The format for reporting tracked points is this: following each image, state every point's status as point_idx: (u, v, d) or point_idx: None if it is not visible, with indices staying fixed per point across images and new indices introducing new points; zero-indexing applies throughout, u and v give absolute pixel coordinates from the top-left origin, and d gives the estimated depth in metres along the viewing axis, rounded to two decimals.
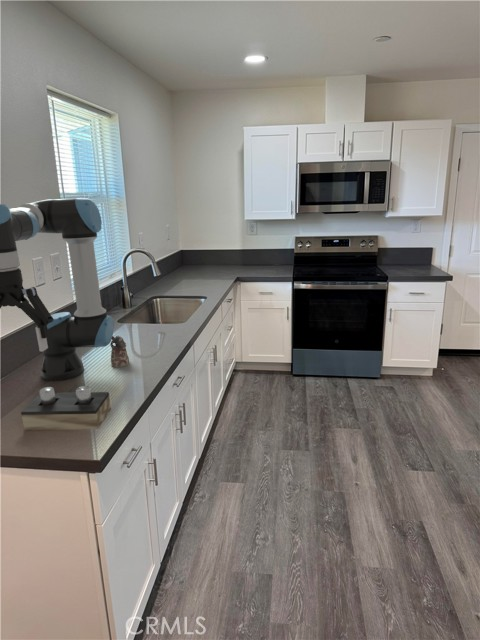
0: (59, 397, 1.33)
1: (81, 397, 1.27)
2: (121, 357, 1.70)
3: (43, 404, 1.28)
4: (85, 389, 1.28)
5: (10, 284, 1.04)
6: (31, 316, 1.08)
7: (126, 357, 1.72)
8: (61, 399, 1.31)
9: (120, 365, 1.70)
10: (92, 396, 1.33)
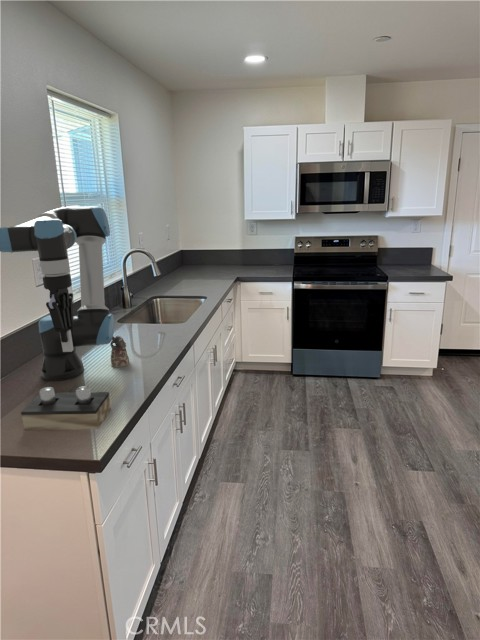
0: (59, 397, 1.33)
1: (81, 397, 1.27)
2: (121, 357, 1.70)
3: (43, 404, 1.28)
4: (85, 389, 1.28)
5: (45, 287, 1.22)
6: None
7: (126, 357, 1.72)
8: (61, 399, 1.31)
9: (120, 365, 1.70)
10: (92, 396, 1.33)
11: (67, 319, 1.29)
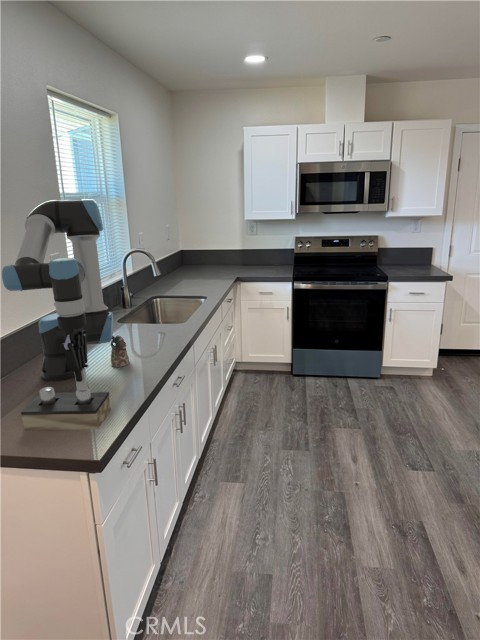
0: (59, 397, 1.33)
1: (81, 398, 1.27)
2: (121, 356, 1.70)
3: (43, 404, 1.28)
4: (85, 390, 1.28)
5: (60, 328, 1.20)
6: None
7: (126, 357, 1.72)
8: (61, 399, 1.31)
9: (120, 365, 1.70)
10: (92, 396, 1.33)
11: (81, 358, 1.26)
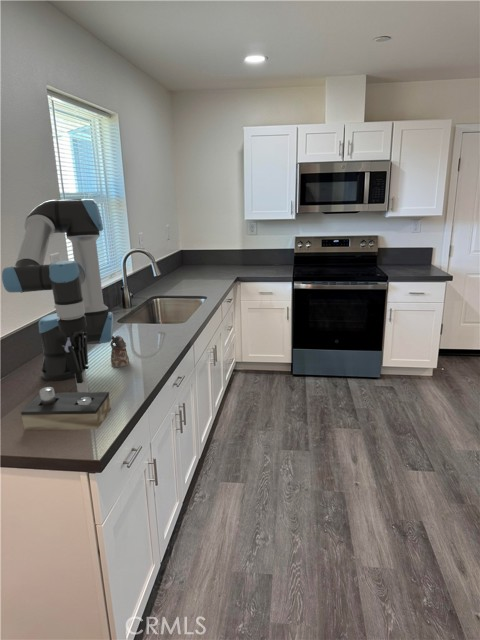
0: (59, 397, 1.33)
1: None
2: (121, 357, 1.70)
3: (43, 404, 1.28)
4: (87, 400, 1.29)
5: (60, 330, 1.20)
6: None
7: (126, 357, 1.72)
8: (61, 399, 1.31)
9: (120, 365, 1.70)
10: (92, 396, 1.33)
11: (82, 359, 1.27)
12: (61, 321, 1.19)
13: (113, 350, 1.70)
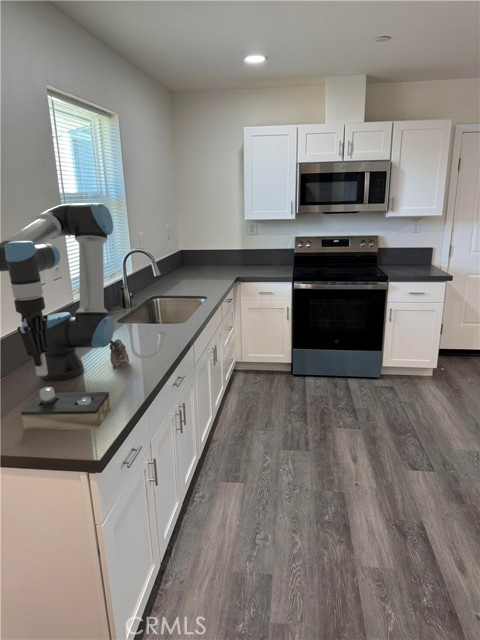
0: (59, 397, 1.33)
1: None
2: (121, 360, 1.68)
3: (43, 404, 1.28)
4: (87, 400, 1.29)
5: (17, 311, 1.19)
6: None
7: (126, 357, 1.71)
8: (61, 399, 1.31)
9: (121, 366, 1.70)
10: (92, 396, 1.33)
11: (41, 342, 1.25)
12: (17, 301, 1.18)
13: (113, 354, 1.67)
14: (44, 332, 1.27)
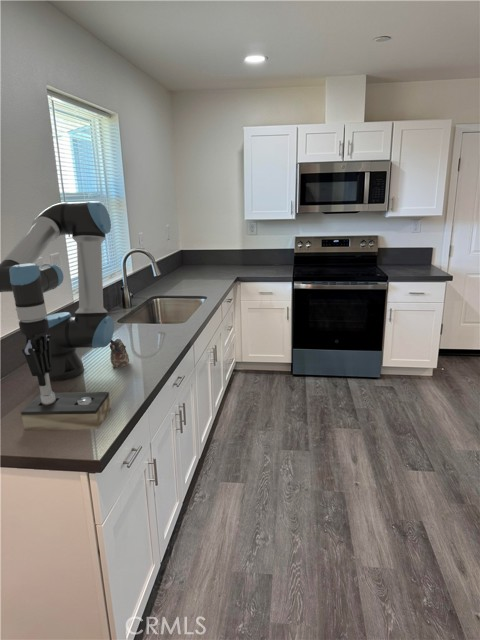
0: (59, 397, 1.33)
1: None
2: (121, 360, 1.68)
3: None
4: (87, 400, 1.29)
5: (21, 333, 1.21)
6: None
7: (126, 357, 1.71)
8: (61, 399, 1.31)
9: (120, 366, 1.70)
10: (92, 396, 1.33)
11: (45, 362, 1.27)
12: (22, 323, 1.20)
13: (113, 353, 1.67)
14: (48, 352, 1.29)
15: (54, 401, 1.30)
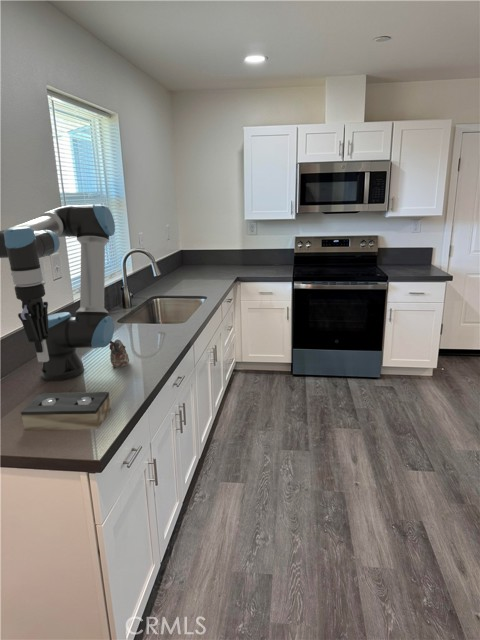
0: (59, 397, 1.33)
1: None
2: (121, 360, 1.68)
3: None
4: (87, 400, 1.29)
5: (17, 298, 1.19)
6: None
7: (126, 357, 1.71)
8: (61, 399, 1.31)
9: (121, 366, 1.70)
10: (92, 396, 1.33)
11: (42, 329, 1.26)
12: (17, 288, 1.18)
13: (113, 354, 1.67)
14: (45, 319, 1.28)
15: None
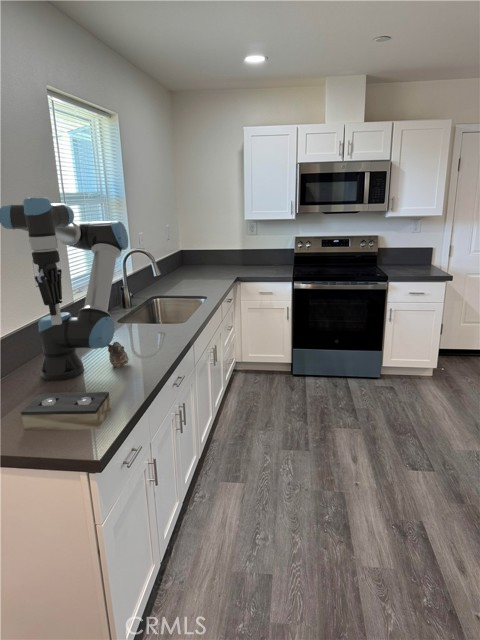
0: (59, 397, 1.33)
1: None
2: (122, 360, 1.68)
3: None
4: (87, 400, 1.29)
5: (34, 262, 1.29)
6: None
7: (126, 357, 1.70)
8: (61, 399, 1.31)
9: (122, 366, 1.70)
10: (92, 396, 1.33)
11: (56, 293, 1.35)
12: (34, 253, 1.28)
13: (113, 357, 1.66)
14: (58, 285, 1.37)
15: None
